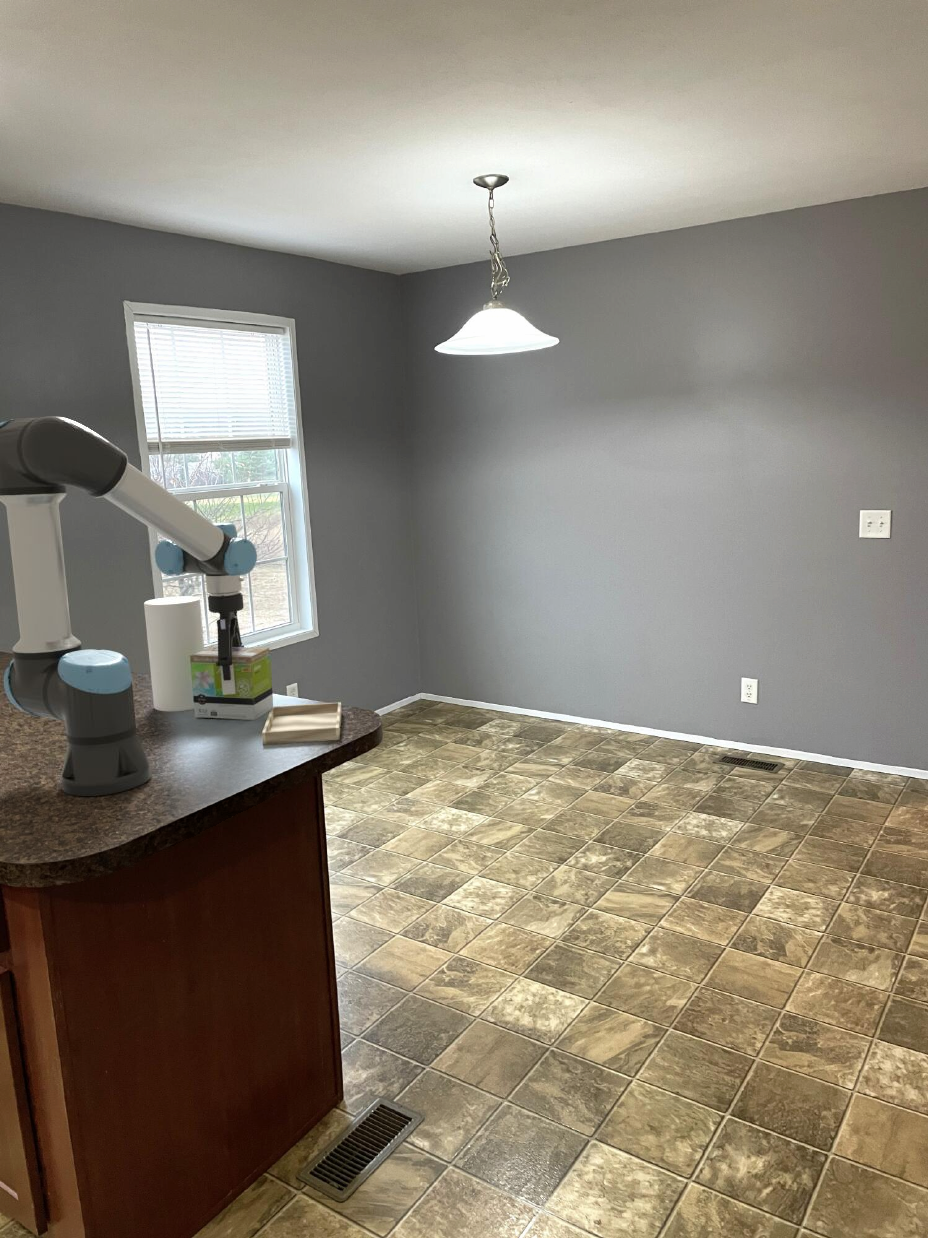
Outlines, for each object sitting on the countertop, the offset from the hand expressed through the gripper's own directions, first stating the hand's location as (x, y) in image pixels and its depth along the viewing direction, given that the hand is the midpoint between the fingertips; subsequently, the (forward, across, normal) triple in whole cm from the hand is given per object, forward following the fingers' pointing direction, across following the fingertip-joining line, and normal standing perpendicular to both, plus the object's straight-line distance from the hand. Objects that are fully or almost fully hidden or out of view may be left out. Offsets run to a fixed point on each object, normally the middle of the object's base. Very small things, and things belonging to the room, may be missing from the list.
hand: (233, 686), depth 210 cm
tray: (+6, -16, -16) cm, 24 cm away
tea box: (+7, 0, 0) cm, 7 cm away
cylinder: (+7, +12, +14) cm, 20 cm away
